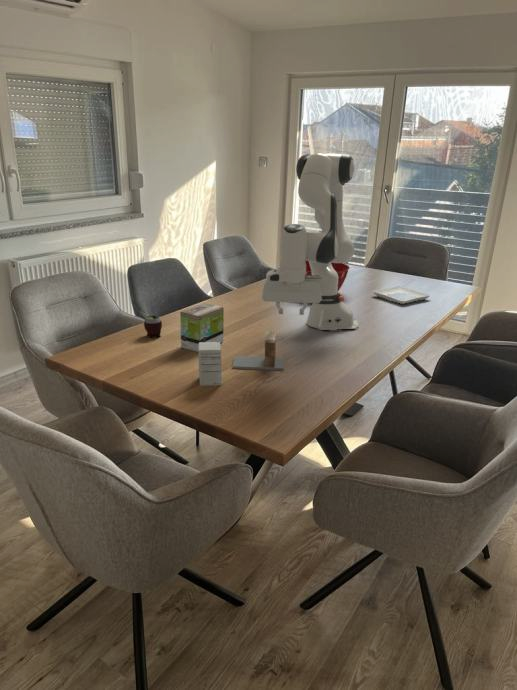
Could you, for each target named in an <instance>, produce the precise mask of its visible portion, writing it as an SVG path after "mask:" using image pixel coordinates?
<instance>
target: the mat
mask: <svg viewBox="0 0 517 690" xmlns="http://www.w3.org/2000/svg"><path fill="white" fill-rule="evenodd" d="M233 359H234V360H233V362H232V365H231V366H232V367H231V368H232V369H238V370H239V369H240V370H241V369H243V370H262V371H263V370H264V371H265V370H266V371H267V370H268V371H284V368H285V356H284V357H283V356H275V367H269V366H265V356H257V355H255V356H254V355H234V358H233Z"/></svg>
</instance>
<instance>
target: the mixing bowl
mask: <svg viewBox="0 0 517 690" xmlns="http://www.w3.org/2000/svg"><path fill="white" fill-rule="evenodd" d="M305 262H306V275H312V272H311V267H310V264H309V261H305ZM331 264H332V267H333V269H334V270H335V271H336V272H337V274H338V291H337V292H338V293H339V291H340V289H341V288H342V286H343V284H344V282H345V280H346V279H347V275H348V272H349V270H350V268H351V267H350V265H348V264H347V263H333V262H331Z"/></svg>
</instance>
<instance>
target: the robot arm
mask: <svg viewBox="0 0 517 690" xmlns="http://www.w3.org/2000/svg"><path fill="white" fill-rule="evenodd" d="M295 171H296V176H297V177H296V178H297V179H298V180H299V181H298V182H299V183H298V188H297V193H298V197H299V198H300V201H302V202H303V204H305V205H306V206H307V207H309V208H311V209H314V220H315V222H316V223H317V224H318V225H319V228H320V229H321V231H322V232H320V231H319V232H318V231H315V232H314V231H313V232H307V231H306V230H307V229H306V226H304V225H302V224H298V223H292V224H288V225H285V226H284V227H283V228H282V231H281V238H280V244H279V247H280V248H279V254H280V261H279V268H275V269H271V270H268V271H267V273H266V274H265V275H266V276H265V277H266V278H265V280H264V282H263V283H264V284H263V288H262V294H261V299H262V301H263V302H268V303H269V302H272V303H273V302H275V306H276V307H277V310H278V315H284V308H283V307H281V306H280V303H303V304H302V305H303V306H302V307H301V308H299V316H300V315H301V316H304V314H305V310H306V308H307V307H308V304H310V306H309V310H308V311H309V312H308V316H307V319H306V322H305V324H306V325H308V326H309V327H311V328H314V329H318V330H320V331H322V330H330V331H338V330H337V329H355V330H357V329H358V328H359V322H358V320H356V319H355V318H354V313H353V310H352V309H351V308H350V307H349V306H348V305H346V304H345V303H344V302H343V301H344V296H343V295H342V294H341V292H339V291H338V274H337V272H336V271H335V270H334V269H333V267H332V264H331V262H333V263H344V264H347V263H348V262H350V261H351V259H352V258H353V257H354V254H355V244H354V243H353V241H352V240H351V239H350V237H349V236H348V234H347V232H346V229H345V226H344V221H343V199H344V197H343V196H344V191H343V189H344V188H343V186H345V185H346V184H347V183H349V182H350V181H351V180H352V178H353V176H354V174H355V163H354V159H353V157H352V156H351V155H349V154H347V153H342V154H340V153H333V152H330V153H329V152H325V153H320V152H318V153H313V154H310V153H307V154H303V155H301V156H300V157H299V158H298V160H297V162H296V167H295ZM305 261H309V264H310V267H311V272H312V275H306V262H305ZM337 291H338V292H337ZM357 327H358V328H357ZM356 328H357V329H356Z"/></svg>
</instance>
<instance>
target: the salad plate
mask: <svg viewBox="0 0 517 690" xmlns="http://www.w3.org/2000/svg"><path fill="white" fill-rule="evenodd" d="M371 292H372V293H373V294H374V295H375V296H377V297H379V298H381V297H382V298H381V299H383V298H385V299H384V300H386V299H388V300H387V301H389V300H391V301H390V302H392V301H394V302H393V303H395V302H397V303H396V304H399V303H400V304H399V305H405V303H407V304H410V303H409V302H411V303H414V302H413V301H416V302H419V301H418V300H420V301H423V300H425V299H428V298H430V296H431V295H430V294H428V293H425V292H422V291H421V292H420V291H419V290H415V289H412V288H408V287H404V286H400V285H399V286H391V287H386V288H381V289H375V290H372V291H371ZM398 292H399V293H407V294H410V295H413V296H416V297H418V298H414V299H410V300H407V301H400V300H397V299H395V298H392V297H390V296H387V294H394V293H398Z"/></svg>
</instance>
